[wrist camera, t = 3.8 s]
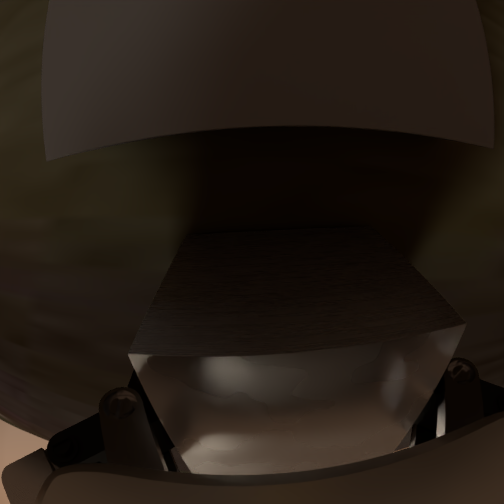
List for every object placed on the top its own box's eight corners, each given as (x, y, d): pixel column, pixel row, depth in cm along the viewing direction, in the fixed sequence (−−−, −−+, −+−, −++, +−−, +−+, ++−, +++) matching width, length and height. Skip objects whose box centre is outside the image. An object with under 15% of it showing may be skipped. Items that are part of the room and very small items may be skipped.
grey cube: (349, 358, 13) (384, 461, 7) (210, 368, 13) (197, 480, 7) (371, 226, 10) (466, 323, 5) (186, 234, 10) (127, 353, 5)
